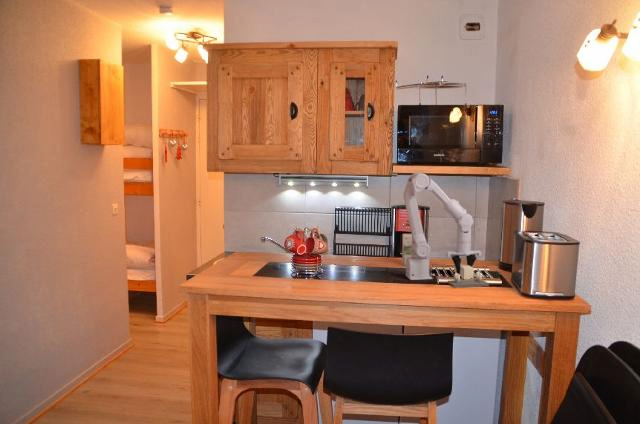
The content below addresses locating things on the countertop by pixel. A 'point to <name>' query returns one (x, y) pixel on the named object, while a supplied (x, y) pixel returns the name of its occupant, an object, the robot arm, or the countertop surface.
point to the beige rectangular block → (465, 271)
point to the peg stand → (468, 281)
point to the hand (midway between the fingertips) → (463, 272)
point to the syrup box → (406, 247)
